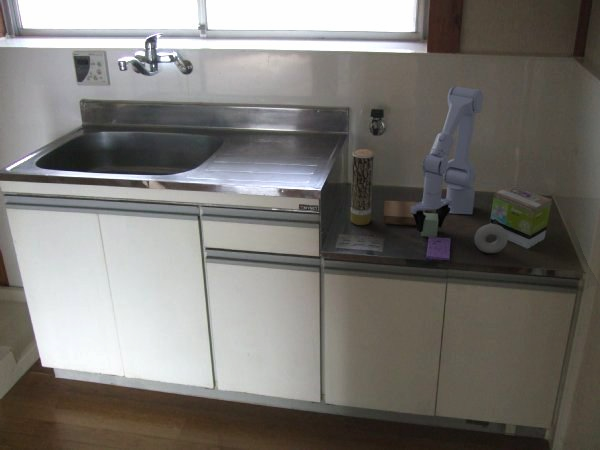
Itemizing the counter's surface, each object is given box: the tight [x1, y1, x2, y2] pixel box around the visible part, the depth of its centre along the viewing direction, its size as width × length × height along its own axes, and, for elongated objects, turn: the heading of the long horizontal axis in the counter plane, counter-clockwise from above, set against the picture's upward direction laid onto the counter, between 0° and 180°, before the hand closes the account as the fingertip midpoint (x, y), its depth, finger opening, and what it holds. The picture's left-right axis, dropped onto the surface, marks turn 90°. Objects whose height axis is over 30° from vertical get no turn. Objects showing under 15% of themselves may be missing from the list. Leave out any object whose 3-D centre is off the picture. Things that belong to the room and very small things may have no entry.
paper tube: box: [350, 148, 374, 226], centre depth 213 cm, size 7×7×25 cm
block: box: [420, 212, 439, 238], centre depth 210 cm, size 5×5×6 cm
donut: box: [474, 223, 509, 254], centre depth 197 cm, size 10×4×10 cm, turn 82°
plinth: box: [382, 200, 427, 226], centre depth 221 cm, size 14×12×3 cm
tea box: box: [489, 184, 553, 250], centre depth 205 cm, size 15×10×15 cm
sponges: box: [426, 236, 452, 261], centre depth 201 cm, size 7×13×2 cm, turn 167°
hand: (429, 228), depth 210 cm, fingers closed on block, 7 cm apart
